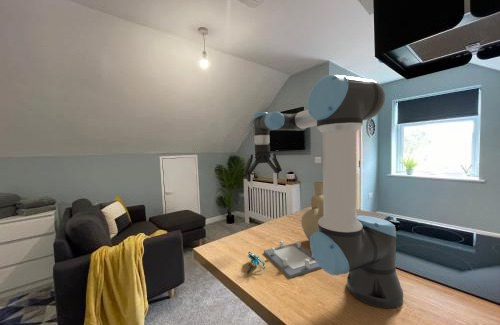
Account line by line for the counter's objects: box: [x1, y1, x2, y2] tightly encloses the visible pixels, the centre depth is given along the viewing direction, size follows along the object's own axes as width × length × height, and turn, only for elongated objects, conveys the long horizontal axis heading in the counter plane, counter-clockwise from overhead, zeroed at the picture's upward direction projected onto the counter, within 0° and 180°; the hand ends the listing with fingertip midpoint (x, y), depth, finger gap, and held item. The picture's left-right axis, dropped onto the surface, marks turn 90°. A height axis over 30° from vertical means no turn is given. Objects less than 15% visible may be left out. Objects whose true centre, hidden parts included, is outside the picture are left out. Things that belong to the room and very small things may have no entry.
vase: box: [300, 181, 324, 242], centre depth 100 cm, size 17×17×30 cm
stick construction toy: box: [246, 251, 266, 274], centre depth 81 cm, size 12×7×8 cm
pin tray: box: [263, 240, 322, 279], centre depth 87 cm, size 21×17×4 cm
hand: (263, 186), depth 104 cm, fingers open, 13 cm apart
